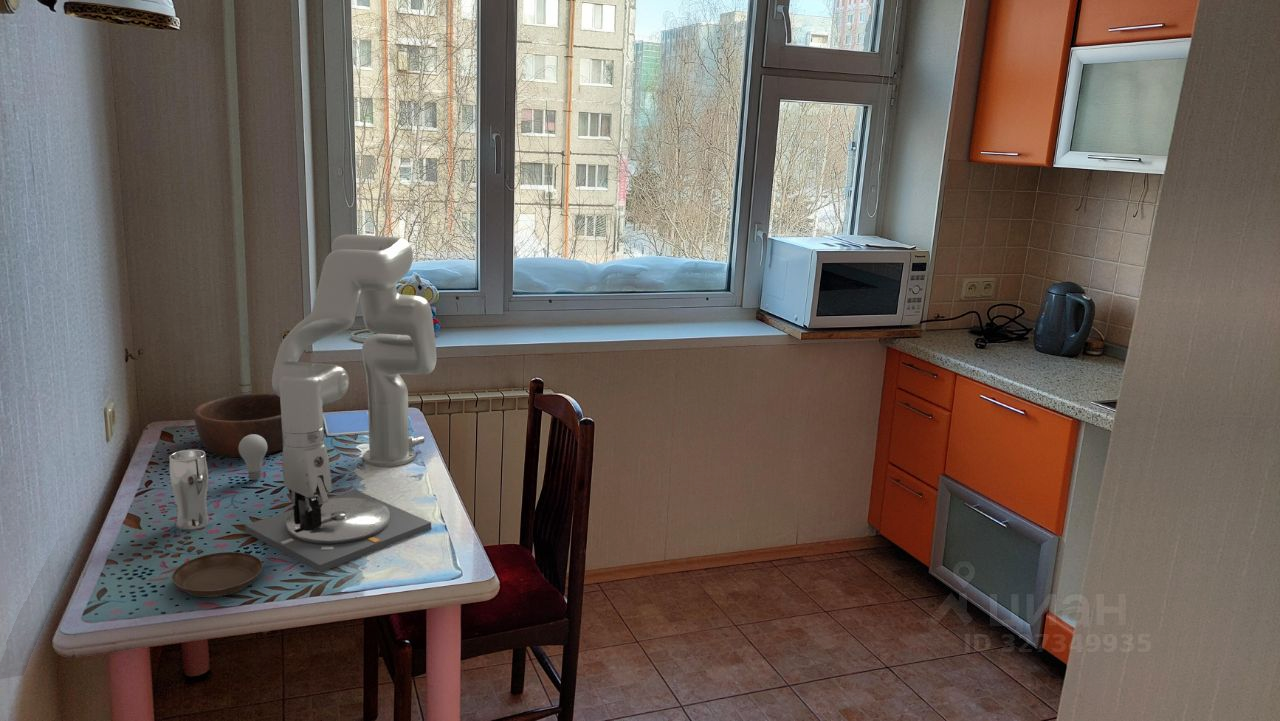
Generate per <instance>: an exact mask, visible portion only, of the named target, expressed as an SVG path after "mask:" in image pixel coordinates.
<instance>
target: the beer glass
mask: <svg viewBox="0 0 1280 721" xmlns="http://www.w3.org/2000/svg"><path fill="white" fill-rule="evenodd" d="M206 456H207V454H206V452H205V451H204V450H202V449H201V450H200V449H185V450H183V449H182V450H179V451H176V452H173V453H171V454H169V456H168V458H169V464H168V466H169V469H168V470H169V471H168V472H169V482H170V486H171V489H172V494H173V497H174V500H175V504H176V507H177V508H176V509H177V518H176V528H177V529H179V530H182V531H194V530H199V529H202V528H205V527H206V526H208V525H209V524H210V516H209V514H208V513H209V512H208V509H207V497H208V488H209V469H208V468H209V467H208V461H207V457H206Z"/></svg>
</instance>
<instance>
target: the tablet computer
mask: <svg viewBox="0 0 1280 721" xmlns="http://www.w3.org/2000/svg"><path fill="white" fill-rule="evenodd" d="M329 414H330V415H329ZM323 426H324V431H325V433H326V437H328V436H337V435H338V436H337V437H340V436H339V435H350V436H358V435H357V434H360V435H361V434H362V435H369V420H368V410H365V411H353V412H352V411H348V412H337V413H336V412H335V413H334V414H333V413H323ZM355 434H356V435H355Z"/></svg>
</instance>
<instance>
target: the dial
mask: <svg viewBox="0 0 1280 721" xmlns="http://www.w3.org/2000/svg"><path fill="white" fill-rule="evenodd" d="M313 500H316V497H315V498H312V499H311V502H313ZM298 501H299V519H300V524H298V525H297V524H295V523H294V512H292V513H291V514H290V515H289V516H288V518H287V520H286V527H287V531H288V533H289V534H290V535H291V536H292V537H294V538H296V539H298V540H301V541H305V542H310V543H319V544H335V543H345V542H351V541H356V540H360V539H364V538H367V537H370V536H372V535H374V534H376V533H378V532H380V531H381V530H383V529H384V528H385V527H386V526H387V525H388V523H389V521H390V512H389V510H388V508H387V507H386V506H385V505H383V504H381V503H379V502H376V501H373V500H369V499H362V498H335V499H328V502H326V503H323V505H322V508H321V526H319V527H317V528H314V529H311V530H306V528H305V511H306V510H307V509H306V500H305V497H301V498H299V500H298Z"/></svg>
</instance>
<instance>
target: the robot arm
mask: <svg viewBox="0 0 1280 721" xmlns="http://www.w3.org/2000/svg"><path fill="white" fill-rule="evenodd" d="M413 252H414V251H413V249H412V245H411V244H410V242H409V241H408V240H407V239H405V238H403V237H399V236H382V235H381V236H379V235H367V234H342V235H339V236H337V237H336V238H335V239H334V240H333V242H332V244H331V252H329V254H328V255H327V256H326V258H324V262H323V267H322V270H321V273H320V276H319V281H318V286H317V290H316V294H315V297H314V302H313V306H312V310H311V312H310V314H309V315H308V316H306V317H305V318H303V319H302V320H301V321H299V322H298V323H297V324H296V325H295V326H294V327H293V328H292V329H291V330H290V331H289V332H288V334H286V336H285V337H284V339H283V340H282V342H281V343H280V345H279V348H278V350H277V355H276V358H275V362H274V366H273V371H272V375H271V377H272V378H271V385H272V389H273V392H274V394H276V395H277V396H279V397H280V403H281V420H282V438H283V449H282V479H283V480H282V481H283V485H284V486H285V487H286V488H287V490H288V491H289V494H290V496H291V504H292V505H293V508H292V509H294V523H295V524H297V525H298V524H300V519H299V501H298V500H299V498H301V497H305V500H306V509H307V510H306V511H305V528H306V530H311V529H314V528H317V527H319V526H321V508H322V505H323V503H326V502H328V498H329V497H328V494H329V493H331V491H332V476H331V474H332V473H331V467H330V466H331V465H330V460H329V455H328V450H327V447H326V445H325V426H324V421H323V415H324V413H323V412H324V411H323V406H324V405H327V404H331V403H334V402H337V401H339V400H341V399H342V398H343V397H344V396H345V394H346V393H347V391H348V389H349V387H350V385H349V384H350V377H349V375H348V372H347V370H346V369H344V368H343V367H342V366H340V365H337V364H332V363H317V362H302V361H299V359H300V357H301V356H302V355H303V353H304V351H305V350H307V349H308V347H310V346H311V345H313V344H315V343H317V342H318V341H321V340H324V339H326V338H329V337H331V336H333V335H336V334H339V333H341V332H344V331H346V330H348V329H350V328H351V327H353V325H354V323H355V320H356V315H357V311H358V310H357V309H358V306H359V301H360V308H361V314H362V320H363V323H364V326H365V328H366V329H367V330H368V331H370V333H375V334H372V335H369V337H368V336H367V338H366V339H365V340H364V341H363V343H362V348H361V357H362V361H363V367H364V371H365V376H366V387H367V412H368V420H369V434H368V441H369V442H368V443H369V449H367V450H366V451H365V452H364V453H363V455H362V456H363V457H362V458H363V461H364V462H365V463H367V465H371V466H376V467H395V466H396V467H397V466H400V465H401V466H402V465H405V464H409V463H411V462H412V461H413V460H414V459H416V456H417V455H416V451H415V449H413V448H415V446H417V445H418V446H419V445H421V444H425V438H424V436H422V435H420V436H417V437H414V436H412V435H411V436H410V433H409V432H410V428H409V392H408V388H407V385H406V384H407V383H405V381H404V379H403V378H402V376H401V375H411V376H412V375H413V376H425V375H428V374H430V373H432V372H433V371H434V369H435V368H436V364H437V347H436V346H437V344H436V337H435V336H436V334H435V329H434V328H435V327H434V320H433V319H434V317H433V313H432V312H433V311H432V307H431V305H430V303H429V301H428V300H427V299H426V298H425V297H423V296H420V295H414V294H413V295H411V294H402V293H399V292H398V289H397V284H398V282H401V280H402V279H403V278H404V277H405V276H406V275H407V274H408V273H409V271H410V269H411V266H412V265H413V258H414V253H413ZM312 498H315V500H313V502H311V499H312Z"/></svg>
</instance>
